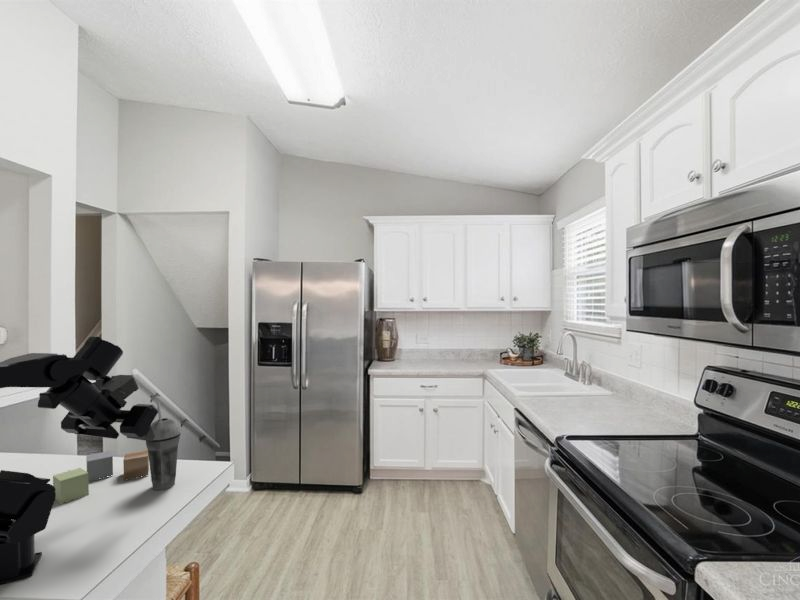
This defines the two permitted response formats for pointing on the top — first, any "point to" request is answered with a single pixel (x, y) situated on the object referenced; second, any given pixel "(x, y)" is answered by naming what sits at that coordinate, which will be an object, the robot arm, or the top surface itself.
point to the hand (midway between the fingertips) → (135, 437)
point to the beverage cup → (163, 452)
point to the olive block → (71, 485)
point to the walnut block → (136, 464)
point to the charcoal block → (99, 465)
